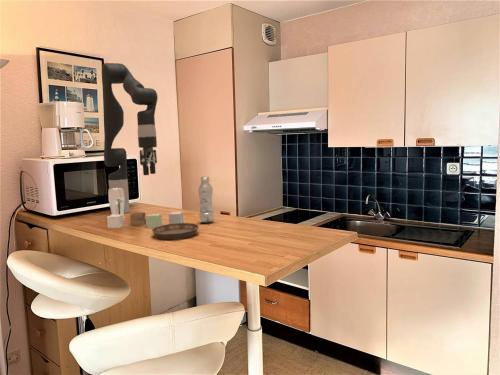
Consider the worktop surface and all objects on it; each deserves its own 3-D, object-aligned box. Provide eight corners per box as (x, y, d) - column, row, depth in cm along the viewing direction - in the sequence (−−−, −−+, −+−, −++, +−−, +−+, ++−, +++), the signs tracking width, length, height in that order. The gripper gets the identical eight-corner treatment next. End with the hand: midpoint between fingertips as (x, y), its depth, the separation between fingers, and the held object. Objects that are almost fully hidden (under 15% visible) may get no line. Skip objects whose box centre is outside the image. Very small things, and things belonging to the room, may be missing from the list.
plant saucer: (152, 243, 141) (152, 234, 141) (151, 232, 158) (151, 225, 158) (202, 238, 146) (201, 230, 145) (195, 228, 163) (195, 221, 162)
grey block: (172, 223, 175) (171, 211, 174) (183, 222, 174) (183, 211, 174) (169, 225, 170) (168, 214, 169) (180, 225, 169) (180, 213, 169)
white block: (112, 225, 173) (112, 214, 172) (123, 225, 172) (123, 214, 172) (107, 228, 168) (107, 216, 167) (119, 228, 167) (118, 216, 167)
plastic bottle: (215, 220, 176) (213, 176, 174) (212, 224, 169) (210, 177, 167) (201, 221, 177) (199, 176, 174) (197, 224, 170) (195, 178, 168)
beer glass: (116, 222, 178) (113, 190, 177) (107, 221, 183) (104, 189, 181) (129, 220, 184) (126, 188, 182) (120, 218, 188) (117, 187, 186)
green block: (150, 225, 171) (150, 213, 171) (162, 225, 171) (161, 213, 170) (147, 227, 166) (146, 216, 166) (158, 227, 166) (157, 216, 165)
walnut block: (135, 223, 176) (134, 212, 175) (146, 223, 176) (145, 212, 175) (130, 226, 171) (130, 214, 170) (142, 225, 171) (141, 214, 170)
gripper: (144, 137, 174) (146, 173, 175) (132, 136, 160) (134, 176, 161) (160, 136, 173) (163, 173, 175) (150, 135, 159) (152, 175, 161)
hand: (149, 174), depth 168 cm, fingers open, 8 cm apart
